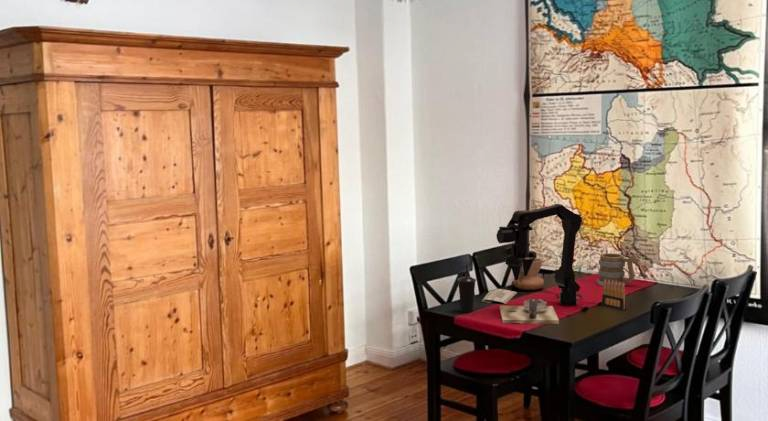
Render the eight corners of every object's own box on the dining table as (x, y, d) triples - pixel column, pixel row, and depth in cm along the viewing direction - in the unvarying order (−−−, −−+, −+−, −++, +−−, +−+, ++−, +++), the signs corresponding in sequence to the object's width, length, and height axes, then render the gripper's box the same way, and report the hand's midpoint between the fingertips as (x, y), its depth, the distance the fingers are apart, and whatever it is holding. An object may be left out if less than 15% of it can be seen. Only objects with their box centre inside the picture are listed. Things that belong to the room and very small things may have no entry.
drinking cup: (464, 314, 329) (464, 267, 327) (454, 310, 336) (454, 264, 333) (479, 312, 333) (479, 265, 330) (469, 308, 340) (469, 262, 337)
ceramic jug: (529, 283, 383) (529, 254, 381) (552, 288, 372) (552, 259, 370) (502, 289, 373) (502, 259, 371) (525, 294, 361) (525, 264, 359)
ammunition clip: (625, 309, 333) (626, 281, 331) (623, 310, 332) (624, 282, 330) (604, 305, 341) (604, 277, 340) (601, 305, 340) (602, 278, 338)
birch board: (552, 309, 335) (552, 305, 335) (558, 324, 313) (559, 319, 313) (499, 309, 337) (499, 305, 337) (502, 323, 315) (502, 319, 315)
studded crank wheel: (525, 306, 333) (525, 290, 332) (546, 308, 331) (547, 291, 330) (521, 317, 317) (521, 299, 316) (544, 318, 315) (544, 301, 314)
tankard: (592, 284, 380) (593, 253, 378) (606, 279, 389) (607, 249, 387) (630, 291, 366) (631, 258, 363) (644, 286, 374) (645, 255, 372)
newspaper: (490, 292, 370) (491, 287, 369) (516, 297, 365) (517, 291, 365) (477, 303, 349) (477, 297, 348) (504, 308, 344) (504, 303, 344)
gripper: (512, 236, 343) (512, 271, 345) (493, 243, 328) (493, 280, 330) (537, 238, 337) (536, 274, 339) (518, 245, 322) (518, 283, 324)
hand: (521, 277), depth 333 cm, fingers open, 9 cm apart
